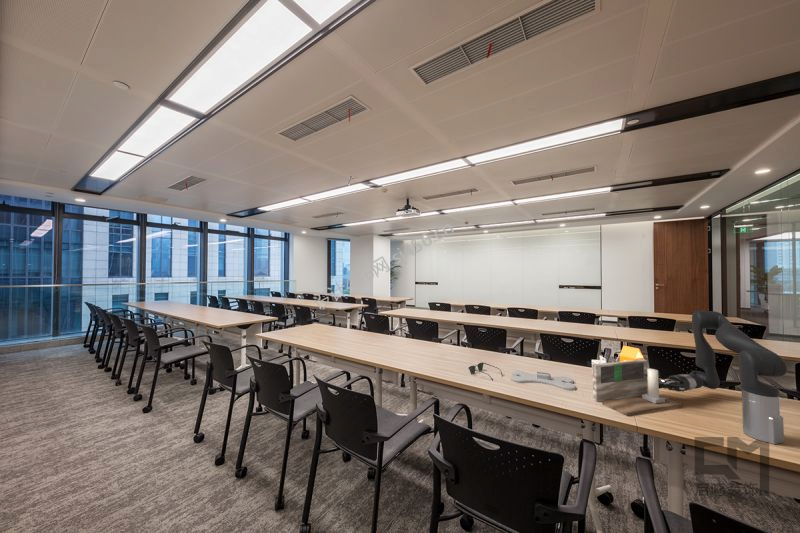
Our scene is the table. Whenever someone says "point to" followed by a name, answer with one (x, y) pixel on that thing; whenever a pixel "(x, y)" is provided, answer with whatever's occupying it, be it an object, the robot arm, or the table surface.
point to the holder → (543, 379)
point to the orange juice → (630, 354)
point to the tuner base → (625, 388)
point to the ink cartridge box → (598, 362)
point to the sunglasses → (480, 368)
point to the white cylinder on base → (652, 387)
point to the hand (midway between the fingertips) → (656, 385)
